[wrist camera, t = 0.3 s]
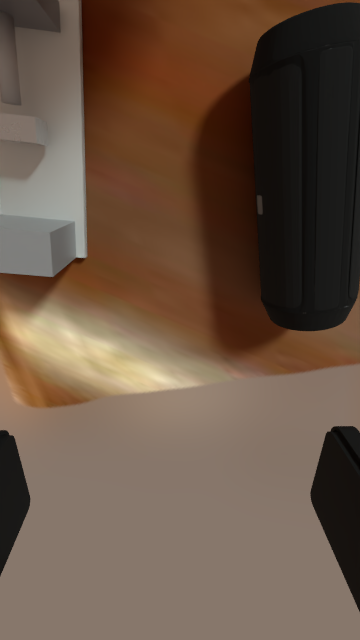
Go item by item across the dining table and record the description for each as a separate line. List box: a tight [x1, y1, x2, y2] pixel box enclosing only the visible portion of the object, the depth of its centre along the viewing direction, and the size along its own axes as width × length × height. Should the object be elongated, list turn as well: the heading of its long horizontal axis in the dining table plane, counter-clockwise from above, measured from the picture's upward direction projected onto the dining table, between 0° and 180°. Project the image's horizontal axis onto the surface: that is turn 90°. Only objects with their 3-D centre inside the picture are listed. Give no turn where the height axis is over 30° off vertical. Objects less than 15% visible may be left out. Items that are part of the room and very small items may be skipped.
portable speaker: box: [249, 2, 360, 331], centre depth 31 cm, size 26×10×10 cm, turn 9°
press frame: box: [0, 0, 87, 277], centre depth 28 cm, size 26×11×9 cm, turn 175°
